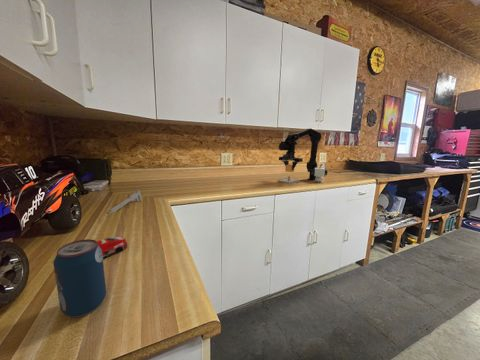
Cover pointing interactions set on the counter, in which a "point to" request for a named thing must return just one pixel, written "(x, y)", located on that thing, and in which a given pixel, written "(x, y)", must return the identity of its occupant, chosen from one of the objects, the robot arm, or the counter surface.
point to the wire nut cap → (289, 168)
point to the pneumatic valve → (319, 173)
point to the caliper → (134, 196)
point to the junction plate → (288, 180)
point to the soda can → (80, 277)
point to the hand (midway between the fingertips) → (289, 169)
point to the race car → (112, 246)
